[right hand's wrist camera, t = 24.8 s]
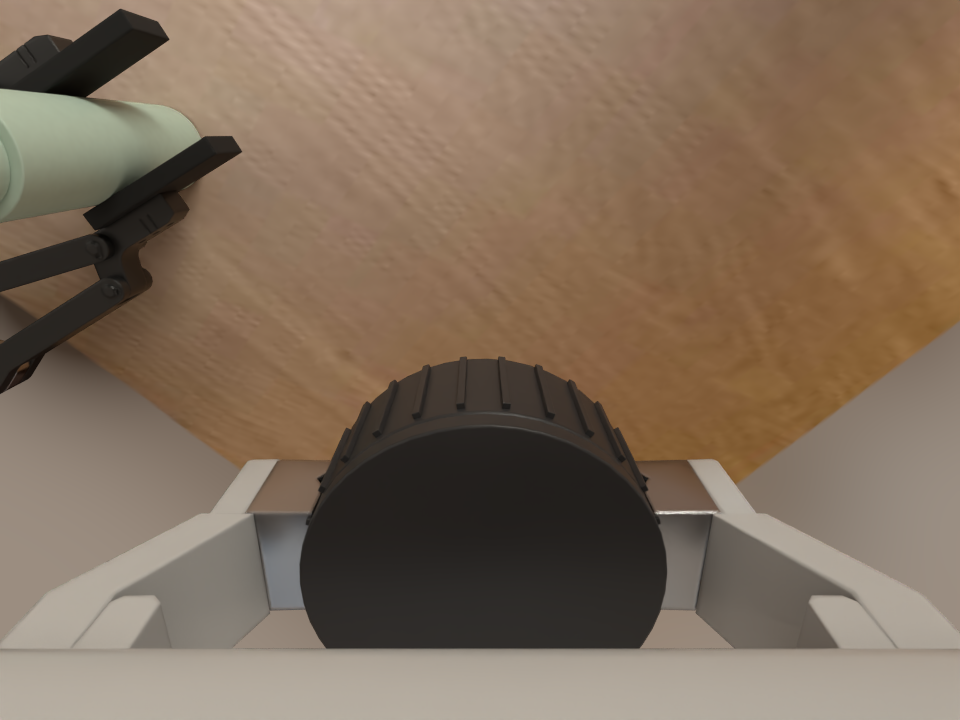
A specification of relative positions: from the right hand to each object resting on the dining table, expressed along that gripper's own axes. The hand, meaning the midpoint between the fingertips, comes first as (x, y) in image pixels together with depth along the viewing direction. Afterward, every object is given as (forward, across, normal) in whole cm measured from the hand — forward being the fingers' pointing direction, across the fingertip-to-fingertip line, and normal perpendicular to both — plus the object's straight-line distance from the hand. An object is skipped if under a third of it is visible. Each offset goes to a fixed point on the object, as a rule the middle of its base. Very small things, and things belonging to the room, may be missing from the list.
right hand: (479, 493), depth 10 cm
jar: (+24, +17, -5) cm, 30 cm away
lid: (-2, 0, 0) cm, 2 cm away
